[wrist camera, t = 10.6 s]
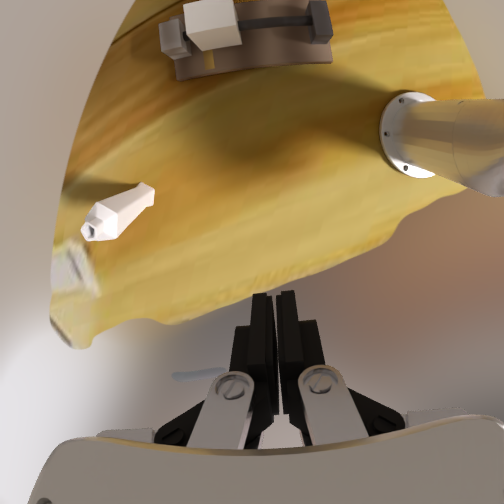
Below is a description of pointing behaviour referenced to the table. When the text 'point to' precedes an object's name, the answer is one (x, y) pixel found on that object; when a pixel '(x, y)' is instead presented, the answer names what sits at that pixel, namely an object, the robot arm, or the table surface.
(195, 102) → the table surface
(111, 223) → the perfume bottle
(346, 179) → the table surface
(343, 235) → the table surface
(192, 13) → the notched white rod block
